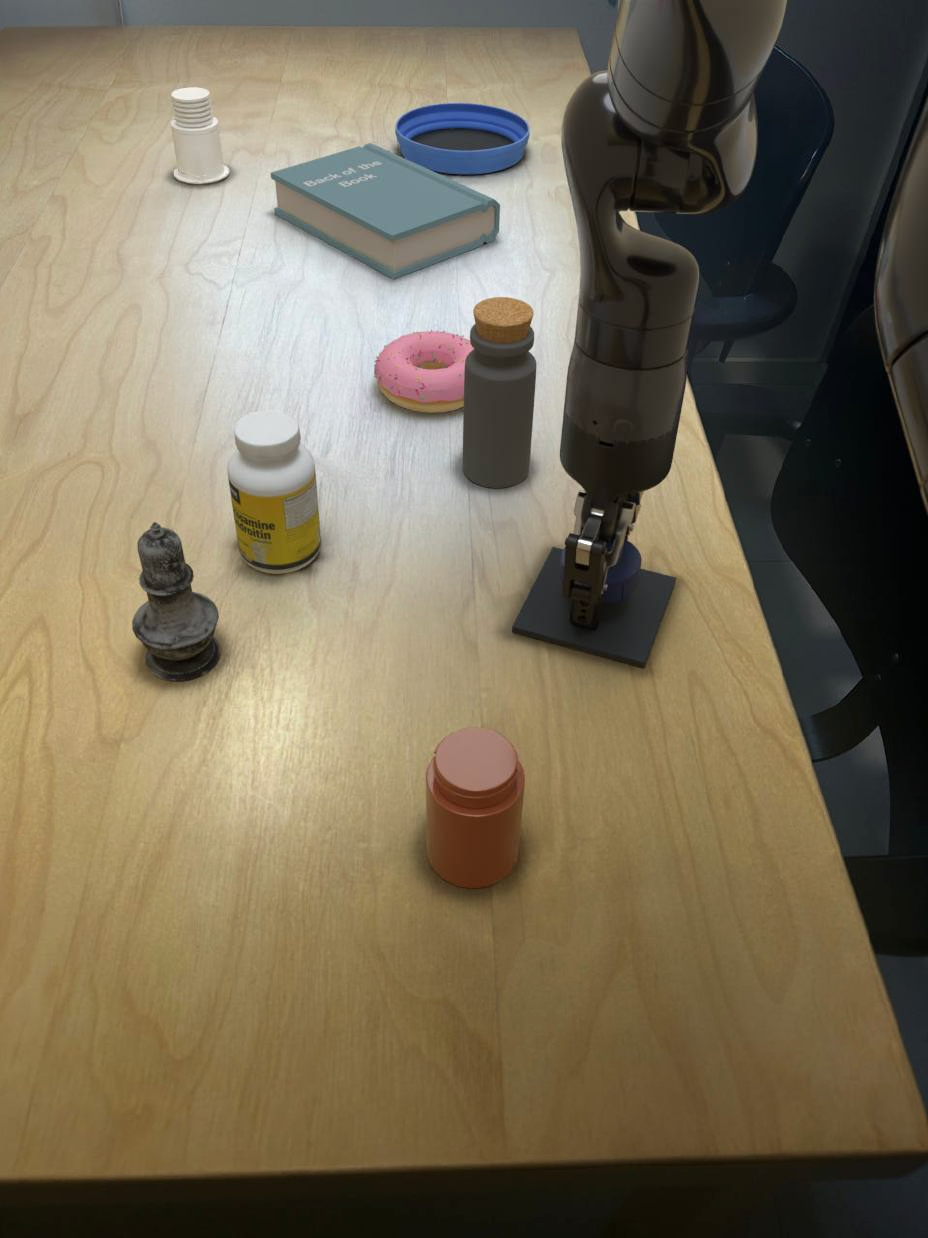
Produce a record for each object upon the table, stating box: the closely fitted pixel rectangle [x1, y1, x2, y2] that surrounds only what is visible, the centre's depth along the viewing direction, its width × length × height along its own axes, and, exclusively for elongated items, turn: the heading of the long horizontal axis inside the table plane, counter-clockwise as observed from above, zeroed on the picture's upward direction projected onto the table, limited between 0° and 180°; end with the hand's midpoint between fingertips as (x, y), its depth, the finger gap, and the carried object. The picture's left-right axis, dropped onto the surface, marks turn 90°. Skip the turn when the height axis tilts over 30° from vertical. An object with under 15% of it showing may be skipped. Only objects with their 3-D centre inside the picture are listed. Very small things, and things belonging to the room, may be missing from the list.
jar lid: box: [560, 539, 642, 604], centre depth 81 cm, size 6×6×2 cm
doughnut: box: [373, 329, 474, 414], centre depth 104 cm, size 11×11×4 cm
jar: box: [425, 726, 526, 889], centre depth 64 cm, size 6×6×9 cm
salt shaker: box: [131, 521, 222, 683], centre depth 75 cm, size 6×6×12 cm
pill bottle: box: [226, 409, 322, 575], centre depth 84 cm, size 6×6×12 cm
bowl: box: [394, 102, 530, 175], centre depth 149 cm, size 18×18×4 cm
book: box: [270, 142, 501, 280], centre depth 131 cm, size 23×16×5 cm
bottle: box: [462, 296, 537, 489], centre depth 91 cm, size 6×6×15 cm
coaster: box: [511, 546, 677, 669], centre depth 83 cm, size 10×10×1 cm
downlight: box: [170, 86, 230, 185], centre depth 139 cm, size 8×7×10 cm
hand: (596, 597), depth 83 cm, fingers closed on jar lid, 5 cm apart
